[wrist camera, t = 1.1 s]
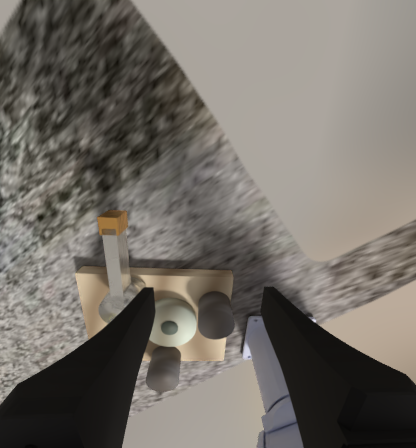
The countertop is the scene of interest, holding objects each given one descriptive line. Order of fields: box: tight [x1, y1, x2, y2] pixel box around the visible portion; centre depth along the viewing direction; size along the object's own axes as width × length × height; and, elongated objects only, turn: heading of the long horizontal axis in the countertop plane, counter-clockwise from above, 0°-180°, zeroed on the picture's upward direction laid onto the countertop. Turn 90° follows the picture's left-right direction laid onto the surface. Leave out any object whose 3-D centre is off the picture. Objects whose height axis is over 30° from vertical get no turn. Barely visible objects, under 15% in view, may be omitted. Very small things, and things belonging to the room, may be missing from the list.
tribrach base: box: [75, 266, 235, 392], centre depth 24 cm, size 18×15×5 cm
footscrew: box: [97, 210, 146, 324], centre depth 19 cm, size 4×12×3 cm, turn 177°
